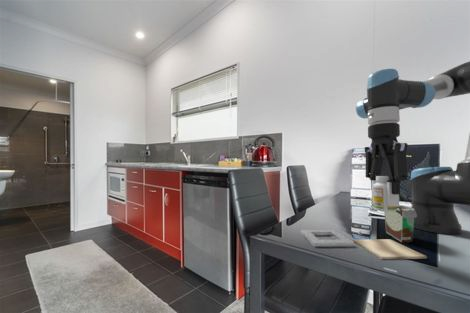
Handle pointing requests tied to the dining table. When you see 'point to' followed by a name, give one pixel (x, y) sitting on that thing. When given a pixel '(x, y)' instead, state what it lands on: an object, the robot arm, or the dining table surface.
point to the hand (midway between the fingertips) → (384, 203)
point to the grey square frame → (338, 242)
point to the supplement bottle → (382, 195)
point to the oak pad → (388, 249)
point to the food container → (401, 223)
